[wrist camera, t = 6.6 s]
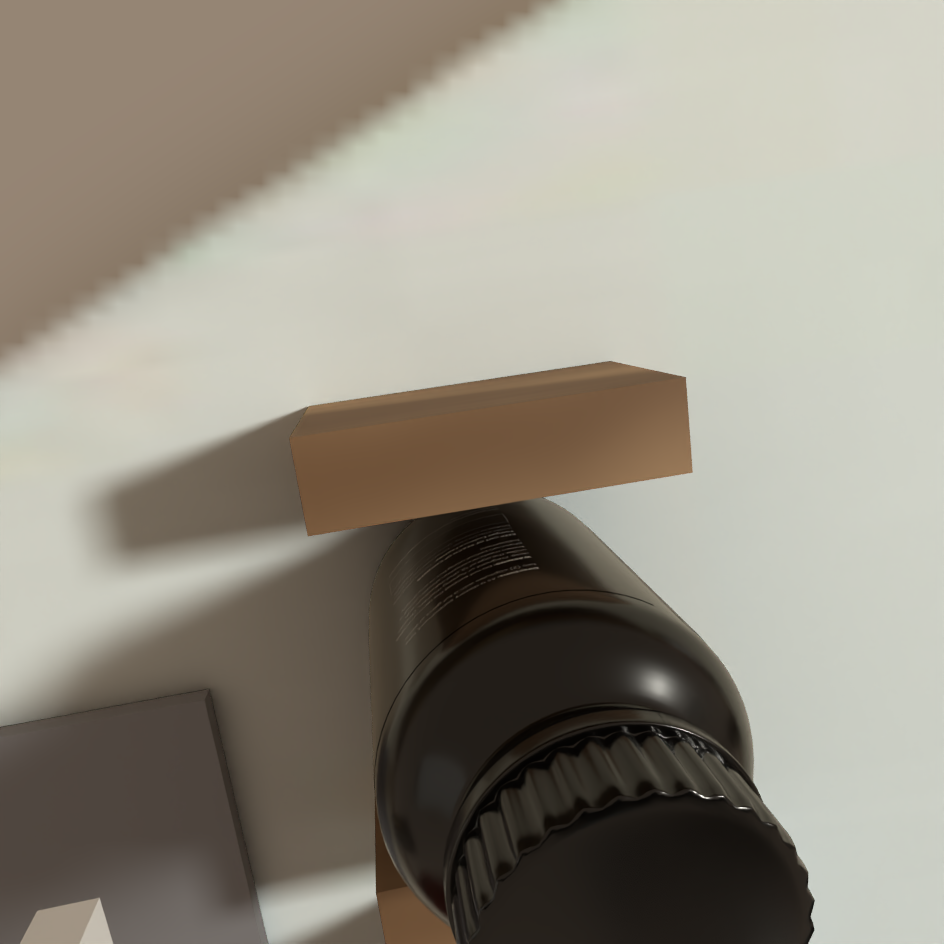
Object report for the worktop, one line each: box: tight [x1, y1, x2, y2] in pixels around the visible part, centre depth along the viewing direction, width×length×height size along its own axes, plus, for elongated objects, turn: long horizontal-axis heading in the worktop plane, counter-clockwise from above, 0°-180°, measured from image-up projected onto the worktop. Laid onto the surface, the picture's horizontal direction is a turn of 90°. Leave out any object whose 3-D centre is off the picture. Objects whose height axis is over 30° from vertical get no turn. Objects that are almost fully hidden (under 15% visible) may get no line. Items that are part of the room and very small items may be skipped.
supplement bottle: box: [369, 497, 815, 944], centre depth 16 cm, size 7×7×12 cm
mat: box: [0, 689, 268, 944], centre depth 21 cm, size 12×12×1 cm
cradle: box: [289, 361, 692, 944], centre depth 19 cm, size 12×8×5 cm, turn 8°
